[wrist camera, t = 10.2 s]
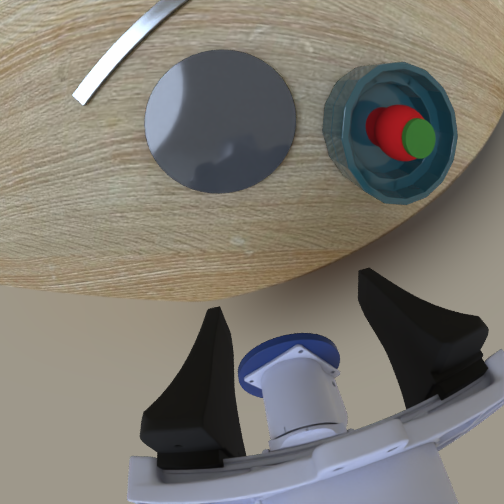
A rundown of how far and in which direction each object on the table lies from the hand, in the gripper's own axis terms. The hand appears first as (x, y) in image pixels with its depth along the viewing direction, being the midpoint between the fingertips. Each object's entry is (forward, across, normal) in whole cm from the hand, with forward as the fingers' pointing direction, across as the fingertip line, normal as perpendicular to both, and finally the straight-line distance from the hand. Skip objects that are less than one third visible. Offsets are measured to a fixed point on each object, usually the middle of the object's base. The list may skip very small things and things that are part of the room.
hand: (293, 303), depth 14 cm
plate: (+9, +1, -8) cm, 13 cm away
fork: (+9, +2, -18) cm, 21 cm away
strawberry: (+9, -10, -6) cm, 15 cm away
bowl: (+9, -10, -6) cm, 15 cm away
